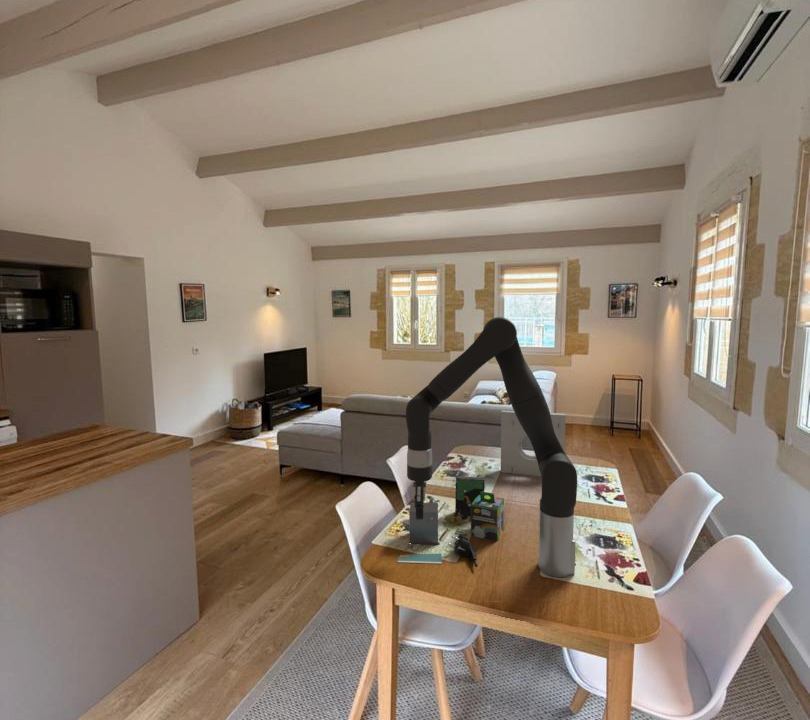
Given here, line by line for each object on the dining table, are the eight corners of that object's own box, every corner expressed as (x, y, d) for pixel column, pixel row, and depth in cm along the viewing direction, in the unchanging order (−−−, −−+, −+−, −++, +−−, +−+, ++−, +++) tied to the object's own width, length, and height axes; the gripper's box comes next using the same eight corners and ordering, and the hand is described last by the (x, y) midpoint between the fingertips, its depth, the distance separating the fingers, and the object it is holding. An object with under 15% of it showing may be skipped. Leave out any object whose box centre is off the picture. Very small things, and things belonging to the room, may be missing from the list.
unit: (439, 534, 146) (439, 502, 145) (439, 546, 138) (439, 513, 137) (409, 533, 147) (409, 501, 146) (408, 545, 139) (407, 512, 138)
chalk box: (504, 531, 148) (505, 488, 146) (497, 543, 140) (498, 499, 138) (478, 525, 152) (478, 484, 150) (469, 537, 144) (470, 494, 142)
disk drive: (484, 516, 158) (484, 477, 157) (484, 520, 156) (484, 480, 154) (455, 514, 160) (455, 475, 159) (455, 517, 158) (455, 478, 156)
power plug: (483, 558, 124) (474, 537, 136) (459, 548, 124) (452, 527, 136) (474, 575, 125) (465, 553, 137) (450, 565, 124) (444, 543, 136)
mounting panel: (500, 479, 195) (500, 412, 192) (500, 475, 200) (501, 410, 197) (563, 485, 187) (565, 416, 184) (563, 480, 192) (565, 413, 189)
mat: (441, 548, 137) (441, 547, 137) (441, 564, 128) (441, 563, 128) (399, 547, 138) (399, 546, 138) (397, 563, 129) (397, 561, 129)
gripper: (432, 470, 123) (431, 529, 125) (432, 455, 136) (432, 509, 138) (405, 469, 124) (405, 528, 125) (408, 455, 137) (408, 508, 139)
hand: (419, 518), depth 132 cm, fingers closed
